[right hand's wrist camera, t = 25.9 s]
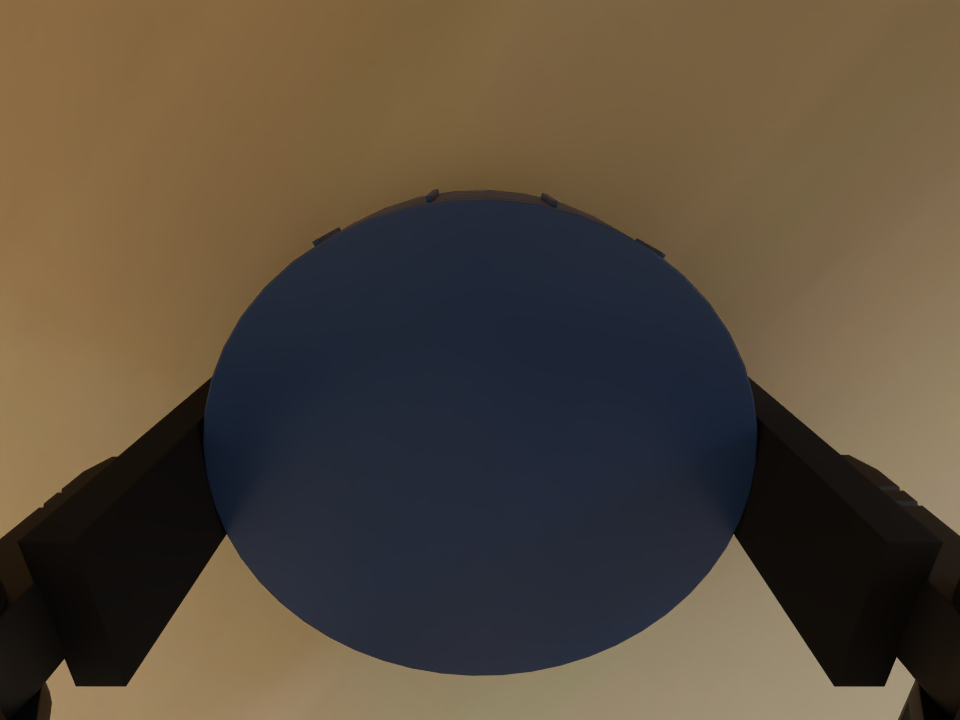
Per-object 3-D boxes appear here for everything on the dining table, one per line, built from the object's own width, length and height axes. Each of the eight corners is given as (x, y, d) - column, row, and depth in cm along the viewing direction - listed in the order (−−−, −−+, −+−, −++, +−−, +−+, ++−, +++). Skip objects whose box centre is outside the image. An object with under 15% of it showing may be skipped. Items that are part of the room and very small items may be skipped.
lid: (470, 661, 15) (469, 739, 13) (154, 419, 12) (90, 471, 10) (801, 440, 12) (862, 495, 10) (495, 60, 9) (499, 37, 7)
